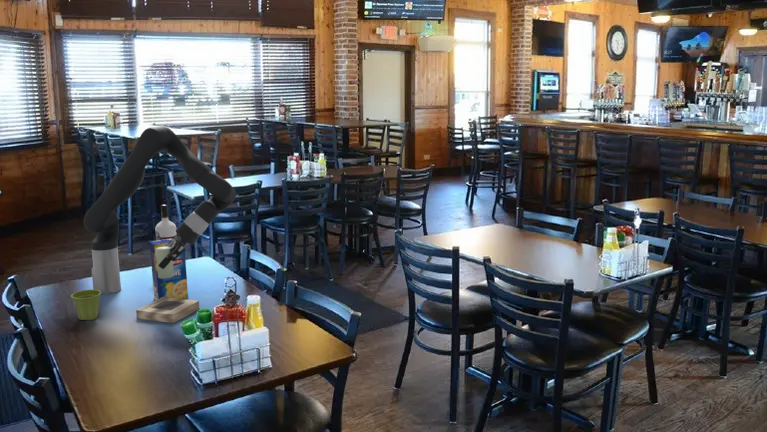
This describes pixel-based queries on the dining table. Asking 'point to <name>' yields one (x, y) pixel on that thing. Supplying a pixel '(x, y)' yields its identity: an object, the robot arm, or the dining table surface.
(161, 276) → the sage post
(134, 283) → the dining table surface
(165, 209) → the vodka
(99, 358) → the dining table surface
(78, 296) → the plant pot
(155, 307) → the birch base
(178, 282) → the beverage box
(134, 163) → the robot arm
